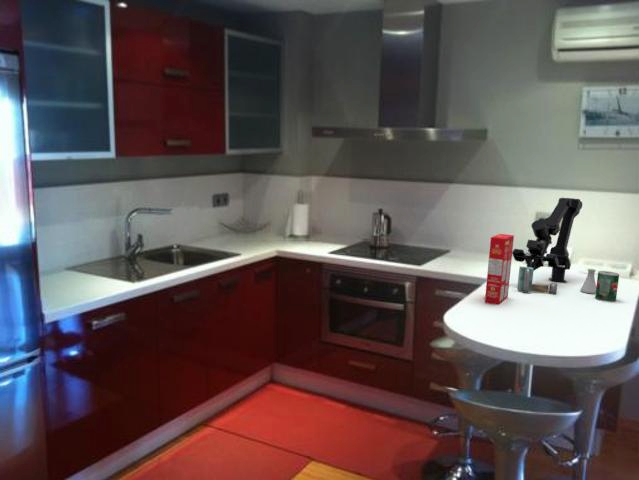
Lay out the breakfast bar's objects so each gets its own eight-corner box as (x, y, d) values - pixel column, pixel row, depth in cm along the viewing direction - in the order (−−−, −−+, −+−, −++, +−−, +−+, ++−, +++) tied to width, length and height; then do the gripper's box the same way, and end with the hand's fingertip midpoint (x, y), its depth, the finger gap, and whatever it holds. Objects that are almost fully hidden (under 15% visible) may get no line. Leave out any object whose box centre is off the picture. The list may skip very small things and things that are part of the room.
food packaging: (494, 295, 240) (500, 233, 237) (507, 297, 238) (513, 235, 234) (484, 302, 228) (490, 237, 224) (498, 304, 225) (505, 239, 221)
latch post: (522, 292, 249) (524, 268, 248) (528, 292, 249) (530, 269, 247) (523, 293, 247) (525, 269, 245) (529, 293, 246) (531, 270, 245)
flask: (594, 291, 259) (597, 268, 258) (600, 295, 252) (603, 271, 251) (577, 289, 260) (580, 267, 259) (583, 293, 253) (585, 270, 251)
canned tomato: (618, 302, 239) (621, 275, 238) (597, 300, 241) (600, 273, 239) (613, 298, 247) (616, 272, 245) (592, 296, 249) (595, 270, 247)
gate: (546, 291, 252) (549, 268, 250) (548, 293, 248) (551, 270, 247) (517, 289, 253) (519, 266, 252) (518, 291, 250) (521, 268, 248)
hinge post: (548, 292, 251) (549, 283, 251) (555, 293, 251) (556, 283, 250) (549, 294, 248) (550, 284, 248) (557, 294, 248) (558, 285, 247)
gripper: (516, 230, 260) (502, 257, 253) (559, 235, 247) (545, 265, 241) (522, 246, 267) (508, 273, 260) (564, 252, 254) (551, 281, 248)
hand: (527, 273), depth 252 cm, fingers closed
